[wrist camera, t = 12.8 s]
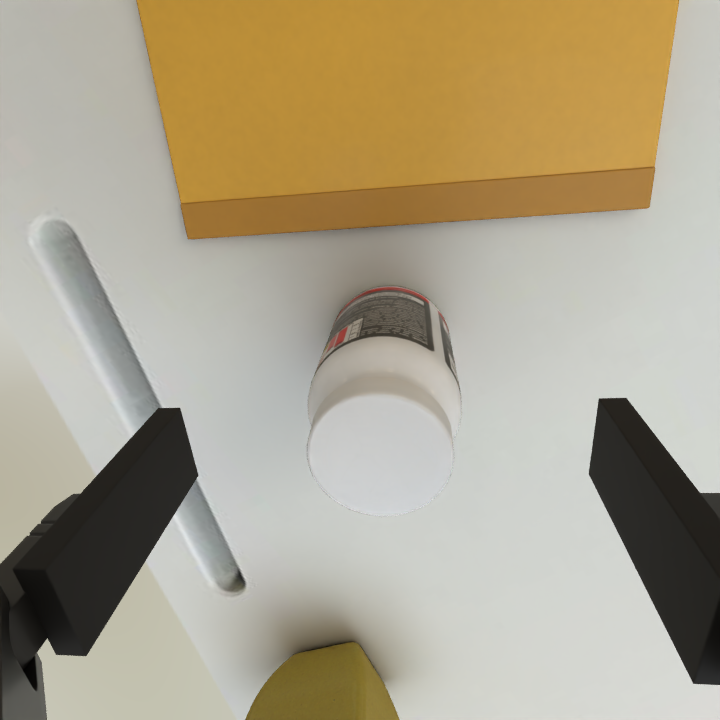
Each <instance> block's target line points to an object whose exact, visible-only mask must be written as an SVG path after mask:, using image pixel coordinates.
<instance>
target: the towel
mask: <svg viewBox="0 0 720 720" xmlns="http://www.w3.org/2000/svg"><path fill="white" fill-rule="evenodd" d="M678 4H679V0H137V5H138V9H139V14H140V19H141V23H142V28H143V32H144V37H145V41H146V46H147V51H148V55H149V60H150V64H151V69H152V73H153V78H154V83H155V87H156V92H157V96H158V101H159V105H160V110H161V114H162V119H163V124H164V128H165V133H166V137H167V142H168V146H169V151H170V156H171V160H172V165H173V169H174V174H175V178H176V183H177V188H178V192H179V197H180V201H181V210H182V214H183V219H184V224H185V228H186V233H187V237H188V239H203V238H218V237H232V236H247V235H262V234H277V233H291V232H306V231H321V230H336V229H350V228H365V227H380V226H395V225H409V224H424V223H439V222H454V221H468V220H483V219H498V218H513V217H527V216H542V215H557V214H571V213H586V212H601V211H616V210H630V209H645V208H649V207H650V200H651V193H652V186H653V180H654V173H655V167H654V166H655V159H656V153H657V146H658V139H659V132H660V126H661V119H662V112H663V105H664V99H665V92H666V85H667V78H668V72H669V65H670V58H671V51H672V45H673V38H674V31H675V24H676V18H677V11H678Z"/></svg>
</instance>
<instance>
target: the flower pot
mask: <svg viewBox="0 0 720 720" xmlns="http://www.w3.org/2000/svg"><path fill="white" fill-rule="evenodd" d="M245 720H399V717H398V715H397V712H396V710H395V707H394V705H393V702H392V700H391V698H390V696H389V694H388V691H387V689H386V687H385V685H384V683H383V681H382V680H381V678H380V677H379V675H378V673H377V672H376V671H375V669H374V668H373V666H372V664H371V663H370V661H369V659H368V658H367V656H366V655H365V653H364V651H363V649H362V648H361V647H360V645H359V644H357V643H355V642H349V643H344V644H339V645H335V646H330V647H326V648H321V649H316V650H311V651H306V652H301V653H297V654H294V655H293V656H291V657H290V658H289V659H288V660H287V661H286V662H284V663H283V664H282V665H281V666H280V667H279V668H278V669H277V670H276V671H275V672H274V673H273V674H272V676H271V677H270V678H269V679H268V680H267V682H266V683H265V684H264V686H263V687H262V688H261V690H260V692H259V693H258V695H257V696H256V698H255V700H254V702H253V704H252V706H251V708H250V710H249V712H248V714H247V717H246V719H245Z"/></svg>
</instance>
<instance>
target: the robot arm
mask: <svg viewBox="0 0 720 720" xmlns="http://www.w3.org/2000/svg"><path fill="white" fill-rule="evenodd" d="M589 475H590V477H591V479H592V481H593V483H594V485H595V487H596V489H597V491H598V493H599V495H600V497H601V499H602V501H603V503H604V505H605V507H606V509H607V511H608V513H609V515H610V517H611V519H612V521H613V523H614V525H615V527H616V529H617V531H618V533H619V535H620V537H621V539H622V541H623V543H624V545H625V547H626V549H627V551H628V553H629V556H630V558H631V560H632V562H633V564H634V566H635V568H636V570H637V572H638V574H639V576H640V578H641V580H642V582H643V584H644V586H645V588H646V590H647V592H648V594H649V596H650V598H651V600H652V602H653V604H654V606H655V608H656V610H657V612H658V614H659V616H660V618H661V620H662V622H663V624H664V626H665V628H666V630H667V632H668V634H669V636H670V638H671V640H672V642H673V644H674V646H675V648H676V650H677V652H678V654H679V656H680V658H681V660H682V662H683V664H684V666H685V668H686V670H687V672H688V674H689V676H690V678H691V680H692V682H693V684H711V685H720V493H700V492H699V491H698V490H697V489H696V487H695V486H694V485H693V483H692V482H691V481H690V480H689V478H688V477H687V476H686V474H685V473H684V472H683V470H682V469H681V468H680V467H679V465H678V464H677V463H676V461H675V460H674V459H673V458H672V456H671V455H670V454H669V452H668V451H667V450H666V449H665V447H664V446H663V445H662V443H661V442H660V441H659V440H658V438H657V437H656V436H655V434H654V433H653V432H652V430H651V429H650V428H649V427H648V425H647V424H646V423H645V421H644V420H643V419H642V418H641V416H640V415H639V414H638V412H637V411H636V410H635V409H634V407H633V406H632V405H631V403H630V402H629V401H628V400H627V398H603V399H599V402H598V409H597V417H596V424H595V432H594V439H593V446H592V454H591V461H590V469H589ZM197 477H198V472H197V468H196V465H195V461H194V457H193V454H192V450H191V446H190V443H189V439H188V435H187V432H186V428H185V424H184V420H183V417H182V413H181V409H180V408H158V409H157V410H156V411H155V412H154V414H153V415H152V416H151V417H150V418H149V419H148V420H147V421H146V422H145V423H144V425H143V426H142V427H141V428H140V429H139V430H138V431H137V432H136V433H135V434H134V436H133V437H132V438H131V439H130V440H129V441H128V442H127V443H126V444H125V445H124V447H123V448H122V449H121V450H120V451H119V452H118V453H117V454H116V455H115V456H114V458H113V459H112V460H111V461H110V462H109V463H108V464H107V465H106V466H105V467H104V469H103V470H102V471H101V472H100V473H99V474H98V475H97V476H96V477H95V478H94V479H93V481H92V482H91V483H90V484H89V485H88V486H87V487H86V488H85V489H84V490H83V492H82V493H81V494H73V495H71V496H70V497H68V498H67V499H66V500H64V501H62V502H61V503H59V504H58V505H56V506H55V507H54V508H53V509H52V510H51V511H50V512H49V513H48V514H47V515H46V516H45V517H44V519H43V520H42V521H41V524H38V525H37V526H36V527H35V528H34V529H33V530H32V531H31V532H30V535H29V536H27V537H26V538H25V539H24V540H23V541H22V542H21V543H20V544H19V545H18V546H17V547H16V548H15V549H14V550H13V552H11V554H9V556H8V557H7V558H6V559H5V560H4V561H3V562H2V563H1V564H0V720H47V715H46V705H45V694H44V683H43V672H42V662H41V660H40V658H39V656H38V654H37V652H38V650H39V648H40V647H41V646H42V645H43V643H44V642H45V640H46V639H47V638H48V640H49V642H50V644H51V646H52V648H53V649H54V651H55V653H56V655H73V656H87V654H88V653H89V651H90V649H91V648H92V646H93V644H94V643H95V641H96V639H97V638H98V636H99V635H100V633H101V632H102V630H103V628H104V627H105V625H106V623H107V622H108V620H109V619H110V617H111V615H112V614H113V612H114V611H115V609H116V607H117V605H118V604H119V603H120V601H121V599H122V597H123V596H124V594H125V593H126V591H127V590H128V588H129V586H130V585H131V583H132V582H133V580H134V578H135V577H136V575H137V574H138V572H139V570H140V569H141V567H142V566H143V564H144V562H145V561H146V559H147V557H148V556H149V554H150V553H151V551H152V549H153V548H154V546H155V545H156V543H157V541H158V540H159V538H160V537H161V535H162V533H163V532H164V530H165V528H166V527H167V525H168V524H169V522H170V520H171V519H172V517H173V516H174V514H175V512H176V511H177V509H178V507H179V506H180V504H181V503H182V501H183V499H184V498H185V496H186V495H187V493H188V491H189V490H190V488H191V487H192V485H193V483H194V482H195V480H196V478H197Z"/></svg>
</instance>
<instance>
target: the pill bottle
mask: <svg viewBox="0 0 720 720" xmlns="http://www.w3.org/2000/svg"><path fill="white" fill-rule="evenodd" d="M461 405H462V401H461V393H460V388H459V382H458V377H457V372H456V367H455V362H454V357H453V351H452V346H451V340H450V335H449V330H448V327H447V324H446V322H445V320H444V318H443V316H442V314H441V313H440V311H439V310H438V309H437V307H436V306H435V305H434V304H433V303H432V302H431V301H430V300H428V299H427V298H426V297H424V296H423V295H421V294H419V293H417V292H415V291H413V290H410V289H407V288H403V287H397V286H383V287H376V288H372V289H370V290H367V291H365V292H362V293H361V294H359V295H357V296H356V297H354V298H353V299H352V300H350V301H349V302H348V303H347V304H346V305H345V306H344V308H343V309H342V310H341V312H340V313H339V315H338V316H337V318H336V320H335V323H334V325H333V328H332V331H331V333H330V336H329V338H328V341H327V343H326V346H325V349H324V351H323V354H322V357H321V359H320V362H319V364H318V367H317V370H316V372H315V375H314V377H313V380H312V382H311V386H310V390H309V395H308V415H309V420H310V424H311V430H310V434H309V437H308V442H307V460H308V464H309V467H310V470H311V473H312V475H313V477H314V479H315V480H316V482H317V483H318V485H319V486H320V488H321V489H322V490H323V491H324V492H325V493H326V494H327V495H328V496H329V497H330V498H332V499H333V500H334V501H336V502H337V503H339V504H341V505H342V506H344V507H346V508H348V509H350V510H353V511H356V512H359V513H363V514H367V515H373V516H394V515H401V514H405V513H409V512H412V511H414V510H417V509H419V508H421V507H423V506H425V505H426V504H428V503H429V502H430V501H432V500H433V499H434V498H435V497H436V496H437V495H438V494H439V493H440V492H441V491H442V490H443V488H444V487H445V485H446V484H447V482H448V480H449V478H450V476H451V472H452V469H453V463H454V447H453V440H454V438H455V436H456V434H457V431H458V428H459V425H460V421H461V411H462V406H461Z"/></svg>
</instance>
